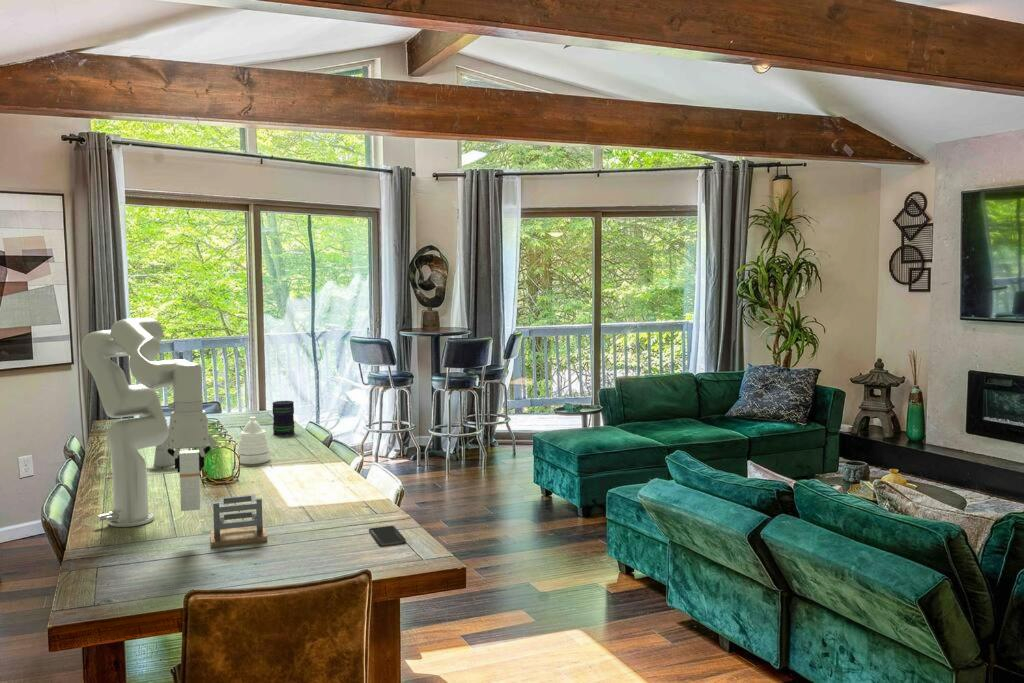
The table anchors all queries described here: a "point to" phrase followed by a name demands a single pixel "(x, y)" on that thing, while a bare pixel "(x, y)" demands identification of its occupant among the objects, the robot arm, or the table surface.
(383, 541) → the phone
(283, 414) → the storage jar
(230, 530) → the collar rack
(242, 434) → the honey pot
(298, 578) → the table surface
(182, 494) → the white block
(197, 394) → the robot arm
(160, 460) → the coffee maker
